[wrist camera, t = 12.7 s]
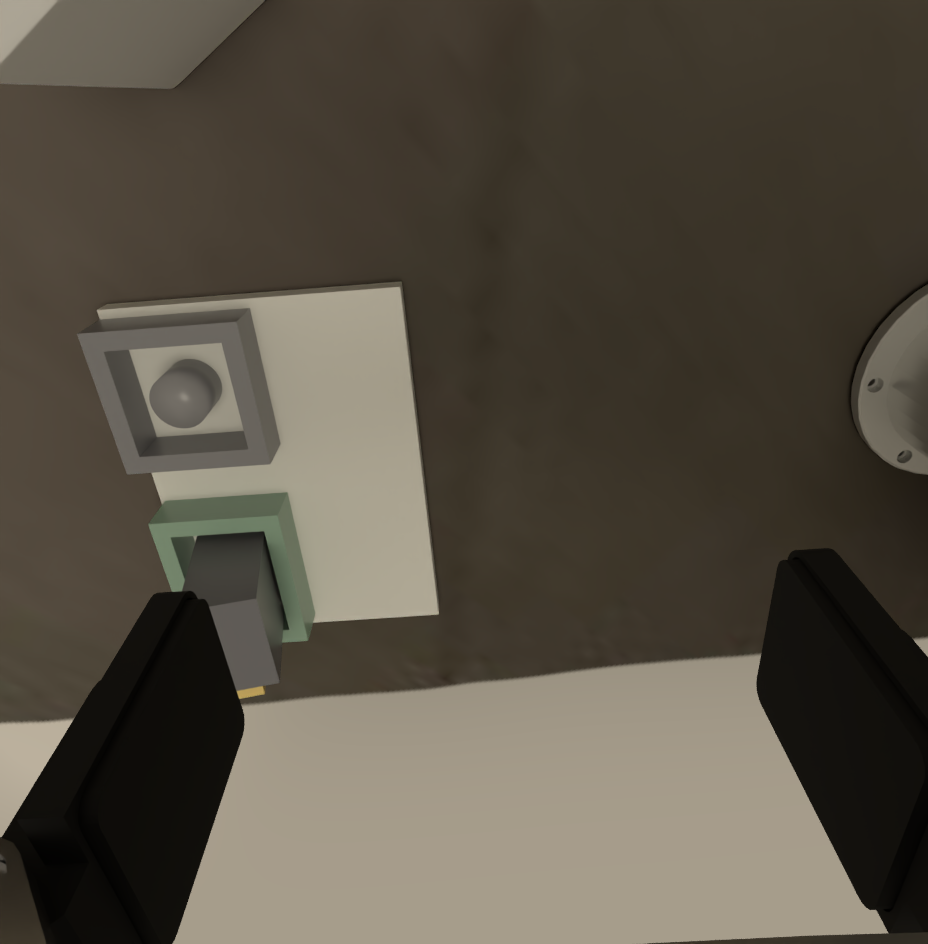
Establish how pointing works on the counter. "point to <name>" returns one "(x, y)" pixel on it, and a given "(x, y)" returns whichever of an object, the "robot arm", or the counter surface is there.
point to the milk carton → (112, 40)
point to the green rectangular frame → (239, 516)
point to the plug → (241, 605)
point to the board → (283, 425)
